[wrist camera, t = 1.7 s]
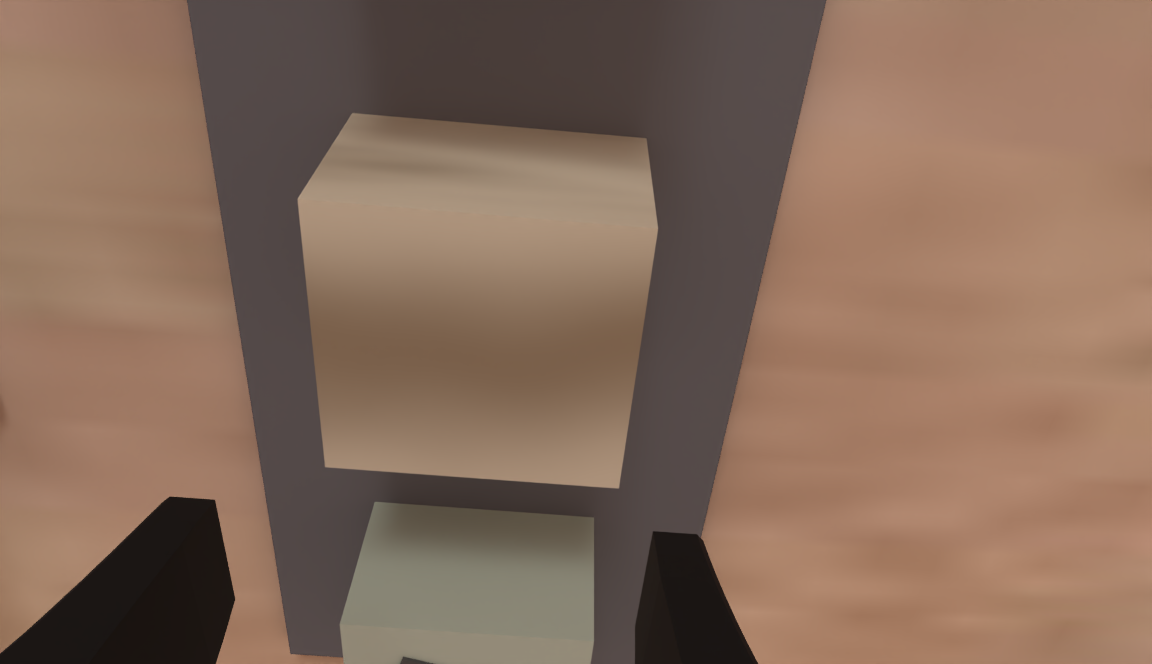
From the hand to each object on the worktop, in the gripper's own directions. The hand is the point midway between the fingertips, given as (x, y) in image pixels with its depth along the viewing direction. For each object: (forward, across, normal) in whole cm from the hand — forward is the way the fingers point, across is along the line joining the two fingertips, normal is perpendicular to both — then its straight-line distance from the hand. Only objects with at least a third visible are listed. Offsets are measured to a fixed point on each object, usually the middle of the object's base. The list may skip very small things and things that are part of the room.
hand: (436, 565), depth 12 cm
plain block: (+9, 0, 0) cm, 9 cm away
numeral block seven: (+9, 0, +11) cm, 14 cm away
